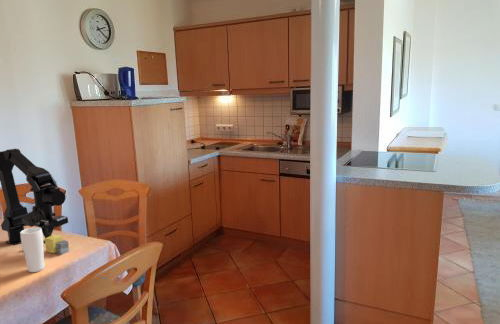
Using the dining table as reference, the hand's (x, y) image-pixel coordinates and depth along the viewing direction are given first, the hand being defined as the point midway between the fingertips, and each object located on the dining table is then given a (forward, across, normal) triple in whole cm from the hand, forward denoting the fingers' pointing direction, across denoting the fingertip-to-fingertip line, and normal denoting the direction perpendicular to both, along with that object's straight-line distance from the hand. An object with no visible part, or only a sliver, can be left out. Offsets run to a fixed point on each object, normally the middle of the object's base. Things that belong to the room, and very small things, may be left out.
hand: (48, 239), depth 148 cm
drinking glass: (+5, +10, -14) cm, 18 cm away
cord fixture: (+5, -1, 0) cm, 5 cm away
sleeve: (+4, +3, 0) cm, 5 cm away
